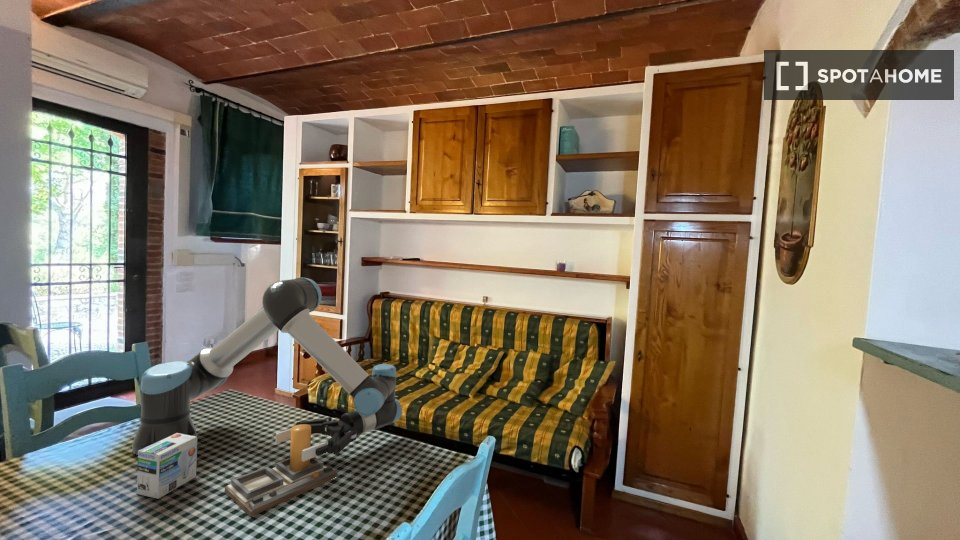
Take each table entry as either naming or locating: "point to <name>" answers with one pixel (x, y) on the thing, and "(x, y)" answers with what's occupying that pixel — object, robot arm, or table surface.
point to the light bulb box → (166, 465)
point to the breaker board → (276, 485)
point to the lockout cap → (299, 446)
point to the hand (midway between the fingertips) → (288, 446)
